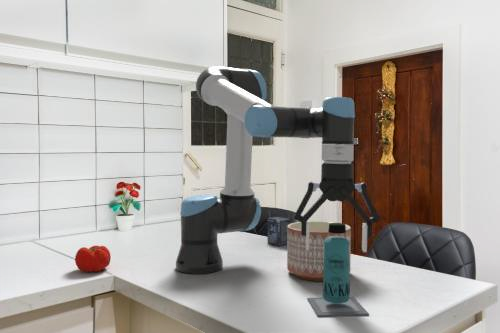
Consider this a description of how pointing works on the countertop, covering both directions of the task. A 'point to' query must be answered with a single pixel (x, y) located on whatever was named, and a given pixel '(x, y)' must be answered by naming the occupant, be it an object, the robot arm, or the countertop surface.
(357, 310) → the slate mat
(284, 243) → the box
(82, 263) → the tomato
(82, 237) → the countertop surface
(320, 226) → the planter
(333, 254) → the beverage bottle
